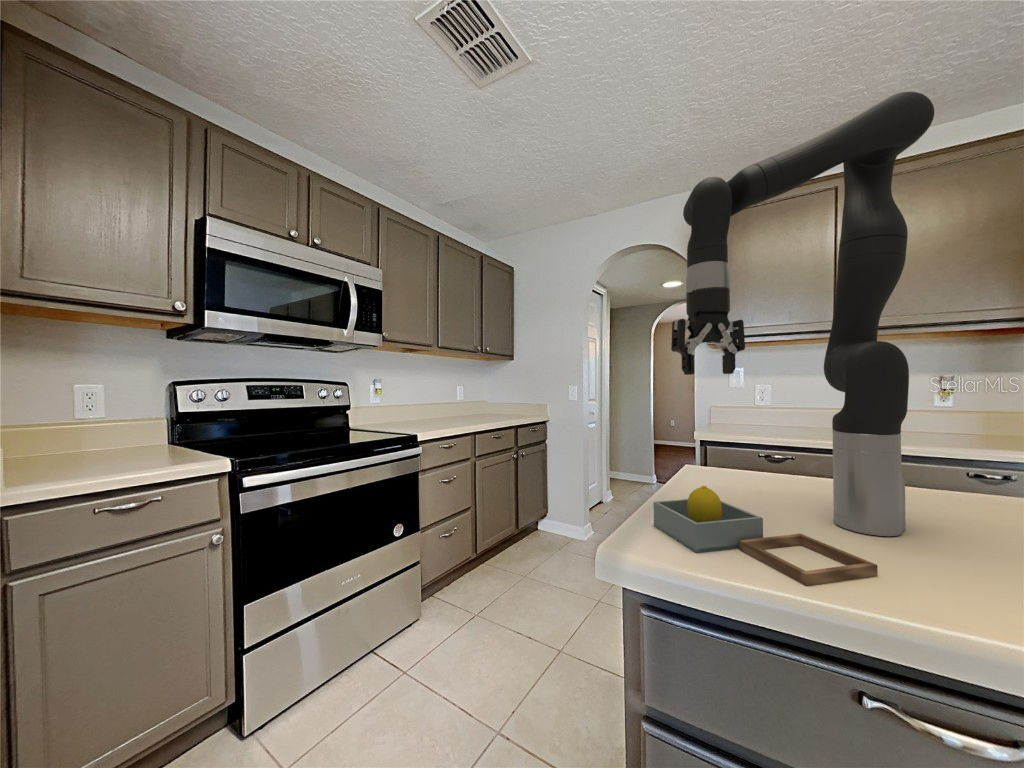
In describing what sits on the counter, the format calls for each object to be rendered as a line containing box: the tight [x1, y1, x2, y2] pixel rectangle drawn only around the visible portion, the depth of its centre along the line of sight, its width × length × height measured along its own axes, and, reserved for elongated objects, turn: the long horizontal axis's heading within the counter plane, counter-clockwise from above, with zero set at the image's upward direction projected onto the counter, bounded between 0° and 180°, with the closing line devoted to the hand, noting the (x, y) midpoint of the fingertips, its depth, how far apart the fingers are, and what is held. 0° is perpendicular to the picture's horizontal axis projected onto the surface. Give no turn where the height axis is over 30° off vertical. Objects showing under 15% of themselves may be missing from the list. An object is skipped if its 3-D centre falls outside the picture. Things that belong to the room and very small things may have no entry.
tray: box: [738, 533, 878, 587], centre depth 59 cm, size 12×12×2 cm
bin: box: [653, 498, 764, 554], centre depth 70 cm, size 12×12×4 cm
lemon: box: [687, 485, 722, 523], centre depth 70 cm, size 6×6×8 cm
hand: (708, 374), depth 77 cm, fingers open, 8 cm apart
